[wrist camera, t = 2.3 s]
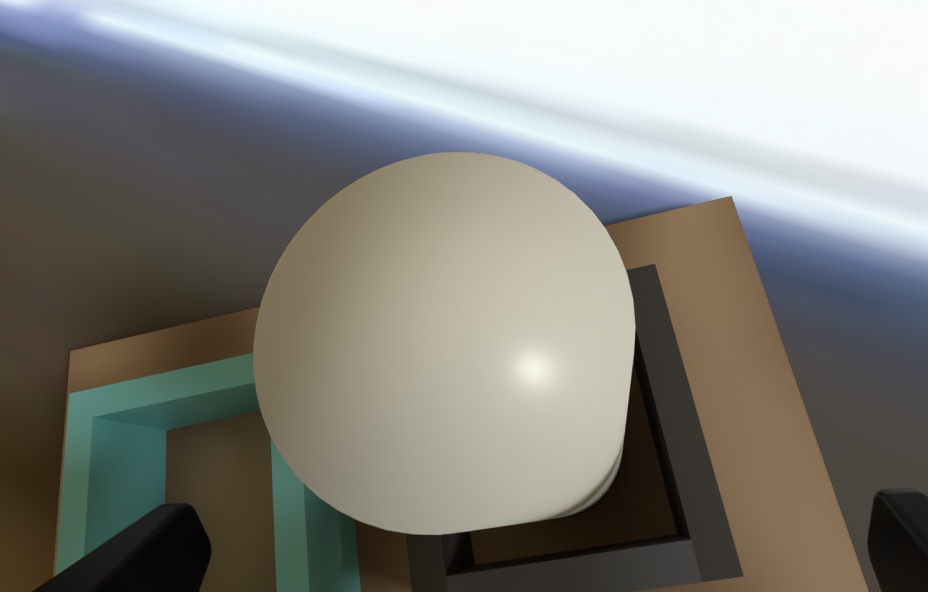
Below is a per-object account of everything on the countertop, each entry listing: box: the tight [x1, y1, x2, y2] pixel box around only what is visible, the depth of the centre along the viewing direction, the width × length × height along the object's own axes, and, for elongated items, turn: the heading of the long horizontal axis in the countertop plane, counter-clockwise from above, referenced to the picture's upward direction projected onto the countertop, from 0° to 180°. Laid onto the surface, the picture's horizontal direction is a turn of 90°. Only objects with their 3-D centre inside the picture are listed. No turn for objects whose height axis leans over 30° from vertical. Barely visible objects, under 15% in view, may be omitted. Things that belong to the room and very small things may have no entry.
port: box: [55, 353, 361, 592], centre depth 17 cm, size 7×7×3 cm
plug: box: [253, 152, 635, 535], centre depth 11 cm, size 4×4×12 cm
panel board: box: [53, 196, 869, 592], centre depth 17 cm, size 22×12×4 cm, turn 99°
